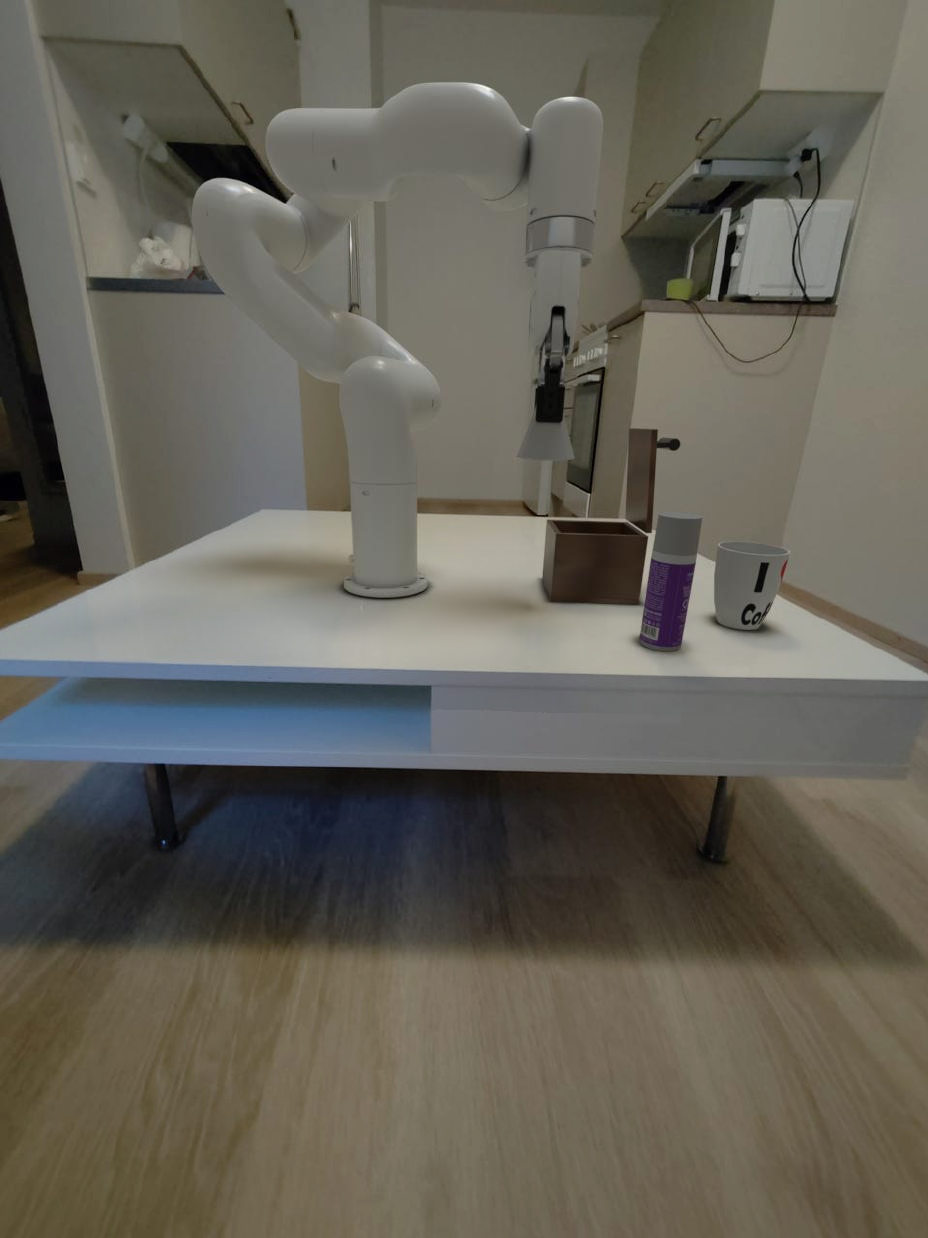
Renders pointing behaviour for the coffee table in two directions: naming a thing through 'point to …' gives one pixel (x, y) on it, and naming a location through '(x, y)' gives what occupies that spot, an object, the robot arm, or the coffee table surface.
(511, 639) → the coffee table surface
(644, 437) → the bin lid
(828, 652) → the coffee table surface
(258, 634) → the coffee table surface
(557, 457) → the flask
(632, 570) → the bin
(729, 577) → the cup
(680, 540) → the container
